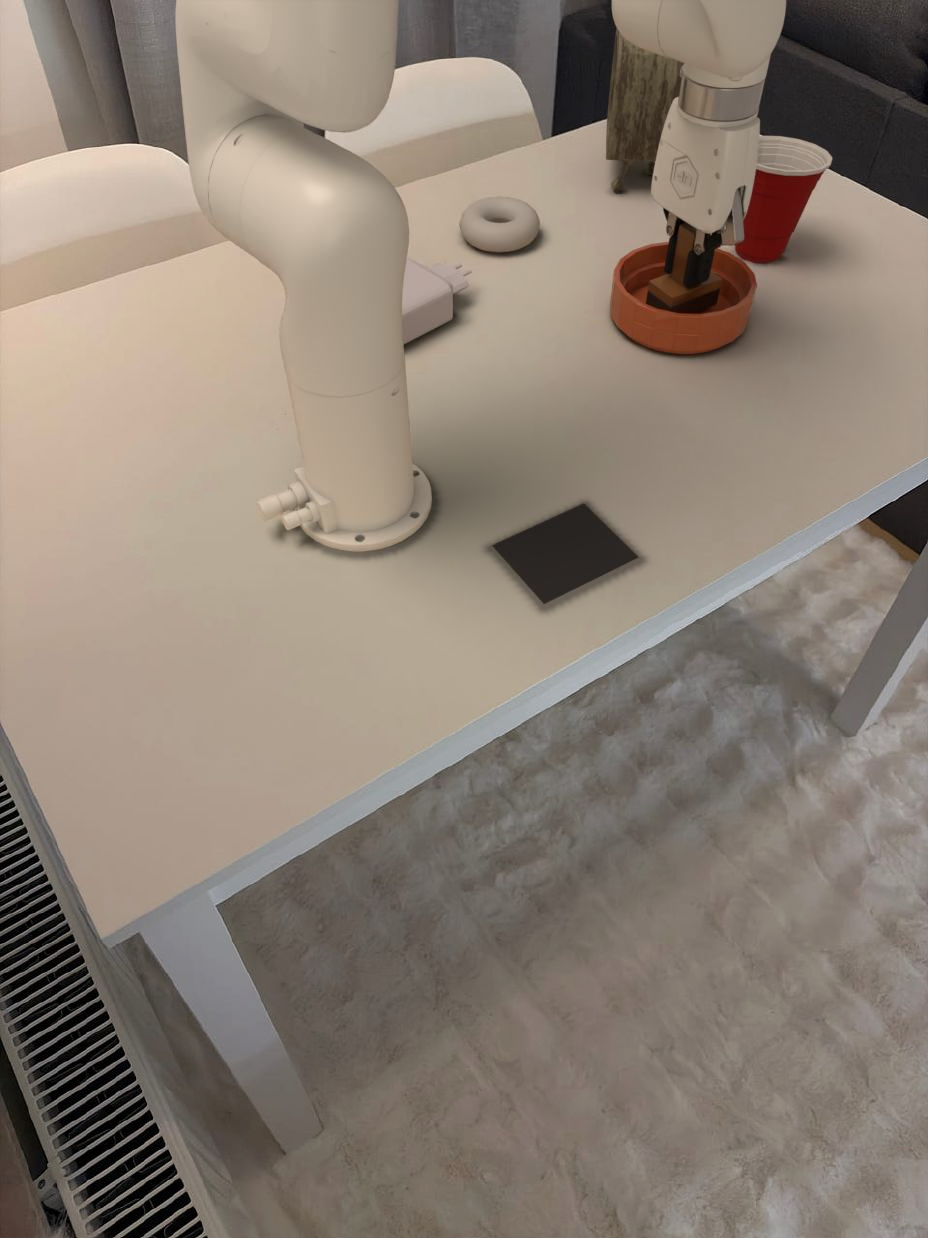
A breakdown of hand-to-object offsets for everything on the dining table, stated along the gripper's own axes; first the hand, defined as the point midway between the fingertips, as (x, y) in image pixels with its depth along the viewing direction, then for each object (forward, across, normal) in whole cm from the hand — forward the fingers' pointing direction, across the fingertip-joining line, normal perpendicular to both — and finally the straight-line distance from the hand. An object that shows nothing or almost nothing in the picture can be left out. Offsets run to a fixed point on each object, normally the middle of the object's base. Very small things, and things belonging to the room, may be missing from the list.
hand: (686, 274), depth 99 cm
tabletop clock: (+5, -30, +18) cm, 35 cm away
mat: (+5, +23, -32) cm, 40 cm away
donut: (+5, -26, -7) cm, 27 cm away
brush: (+4, 0, 0) cm, 4 cm away
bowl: (+5, 0, 0) cm, 5 cm away
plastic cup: (+5, -6, +18) cm, 19 cm away
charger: (+5, -17, -24) cm, 30 cm away
